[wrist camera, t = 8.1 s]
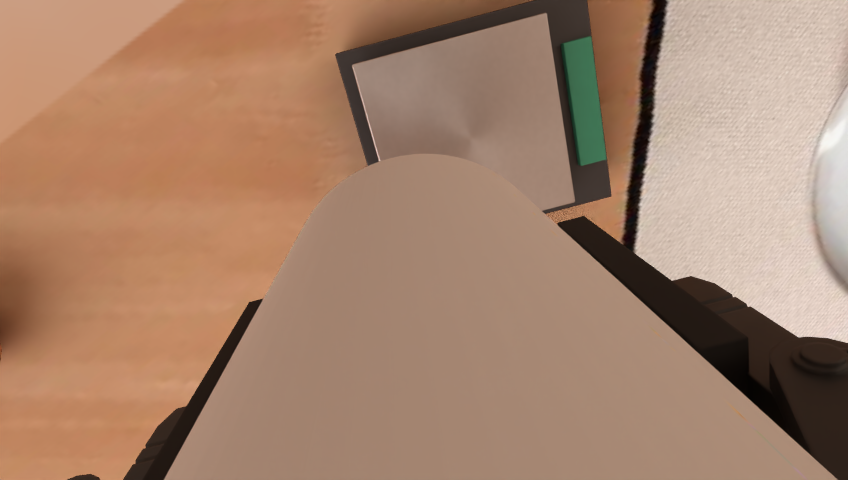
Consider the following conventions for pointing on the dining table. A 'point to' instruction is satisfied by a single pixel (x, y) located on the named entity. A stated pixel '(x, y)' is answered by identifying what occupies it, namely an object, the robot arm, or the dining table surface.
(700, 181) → the dining table surface
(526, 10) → the scale
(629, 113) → the dining table surface
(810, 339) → the robot arm
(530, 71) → the scale pan
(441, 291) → the white cylinder
